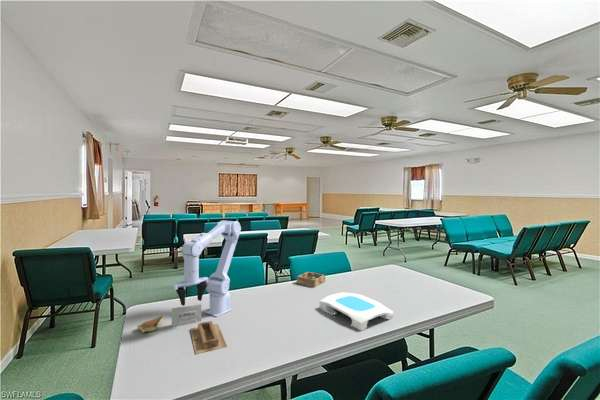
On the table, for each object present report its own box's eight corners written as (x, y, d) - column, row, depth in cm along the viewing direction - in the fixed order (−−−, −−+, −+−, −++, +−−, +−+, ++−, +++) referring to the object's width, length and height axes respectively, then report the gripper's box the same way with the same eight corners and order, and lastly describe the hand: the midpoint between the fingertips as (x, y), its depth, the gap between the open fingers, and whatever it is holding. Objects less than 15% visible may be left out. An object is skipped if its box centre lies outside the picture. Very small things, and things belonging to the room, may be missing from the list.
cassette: (171, 327, 118) (171, 309, 117) (171, 325, 119) (171, 307, 119) (201, 321, 123) (201, 304, 123) (201, 320, 125) (201, 303, 125)
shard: (163, 318, 124) (162, 314, 124) (171, 324, 120) (171, 320, 119) (136, 328, 116) (136, 324, 116) (144, 334, 111) (144, 330, 111)
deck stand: (307, 279, 185) (307, 271, 185) (325, 282, 178) (325, 275, 178) (296, 284, 175) (296, 276, 175) (314, 288, 167) (314, 280, 167)
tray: (217, 324, 120) (217, 317, 120) (227, 348, 102) (227, 340, 102) (190, 330, 116) (190, 322, 115) (195, 355, 98) (195, 347, 98)
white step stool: (349, 301, 148) (349, 289, 148) (393, 322, 125) (394, 308, 125) (318, 310, 137) (318, 297, 137) (360, 335, 114) (360, 319, 113)
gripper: (202, 265, 126) (202, 295, 126) (170, 271, 115) (169, 304, 115) (211, 268, 121) (210, 299, 121) (177, 275, 110) (177, 309, 111)
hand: (191, 302), depth 118 cm, fingers open, 7 cm apart
